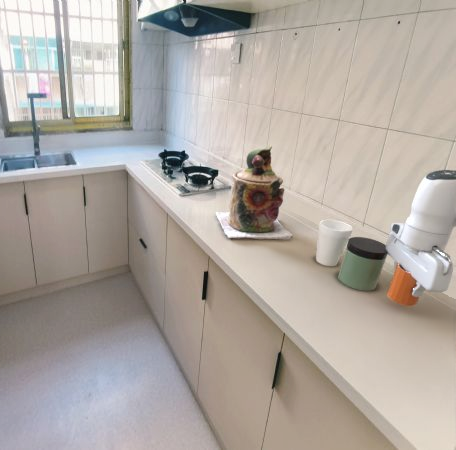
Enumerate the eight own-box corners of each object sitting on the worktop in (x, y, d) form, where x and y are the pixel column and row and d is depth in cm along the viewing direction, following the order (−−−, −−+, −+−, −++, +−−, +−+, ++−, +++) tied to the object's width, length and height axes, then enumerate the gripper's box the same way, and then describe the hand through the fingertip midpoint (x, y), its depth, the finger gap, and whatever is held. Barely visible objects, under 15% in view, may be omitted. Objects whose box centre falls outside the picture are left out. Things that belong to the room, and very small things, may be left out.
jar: (366, 273, 105) (377, 240, 100) (382, 292, 96) (395, 256, 91) (332, 270, 106) (342, 237, 101) (345, 289, 96) (356, 253, 92)
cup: (407, 292, 91) (418, 263, 87) (422, 307, 85) (434, 276, 81) (382, 290, 91) (392, 261, 88) (395, 304, 85) (406, 274, 82)
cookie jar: (213, 215, 145) (222, 139, 132) (269, 215, 147) (283, 141, 134) (228, 240, 123) (240, 152, 110) (293, 241, 124) (313, 154, 111)
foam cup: (313, 251, 117) (321, 217, 112) (342, 259, 113) (353, 223, 107) (309, 263, 109) (318, 226, 104) (340, 271, 105) (351, 234, 100)
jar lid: (376, 244, 101) (378, 238, 100) (394, 261, 91) (396, 254, 91) (341, 241, 102) (342, 235, 101) (355, 257, 92) (357, 251, 92)
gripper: (470, 259, 71) (446, 312, 77) (413, 222, 90) (397, 267, 95) (438, 257, 72) (416, 310, 77) (388, 220, 90) (374, 265, 96)
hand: (405, 286), depth 87 cm, fingers closed on cup, 6 cm apart
